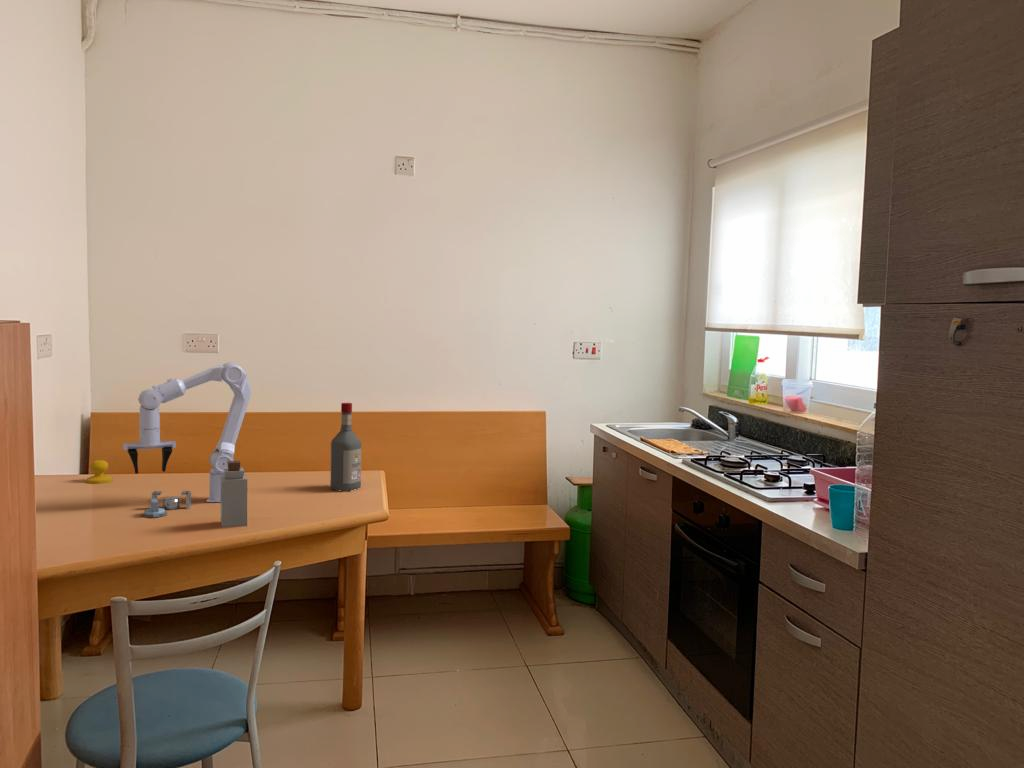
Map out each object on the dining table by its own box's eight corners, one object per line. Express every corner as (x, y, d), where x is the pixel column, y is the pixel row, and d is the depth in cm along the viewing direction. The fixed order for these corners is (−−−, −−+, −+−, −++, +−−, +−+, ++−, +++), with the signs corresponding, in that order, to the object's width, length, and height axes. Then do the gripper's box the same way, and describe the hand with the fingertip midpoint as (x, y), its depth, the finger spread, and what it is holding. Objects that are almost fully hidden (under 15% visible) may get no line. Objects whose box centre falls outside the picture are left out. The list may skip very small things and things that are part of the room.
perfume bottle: (220, 521, 228) (220, 460, 227) (245, 519, 231) (245, 459, 229) (221, 527, 222) (221, 464, 220) (247, 525, 225) (247, 463, 223)
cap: (166, 515, 231) (166, 502, 231) (145, 517, 229) (145, 504, 228) (162, 509, 238) (162, 496, 238) (142, 511, 235) (142, 498, 235)
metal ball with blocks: (191, 505, 245) (191, 489, 245) (188, 509, 240) (188, 493, 240) (154, 506, 243) (154, 490, 243) (150, 510, 238) (150, 494, 238)
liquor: (364, 487, 278) (365, 403, 275) (347, 492, 269) (348, 405, 267) (343, 484, 282) (344, 401, 279) (326, 489, 274) (327, 403, 271)
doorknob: (117, 480, 277) (96, 484, 270) (102, 478, 280) (81, 481, 273) (117, 459, 276) (96, 463, 269) (101, 457, 280) (81, 460, 273)
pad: (170, 511, 238) (170, 510, 238) (164, 517, 231) (164, 516, 231) (145, 511, 236) (145, 510, 236) (138, 517, 229) (138, 516, 229)
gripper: (173, 425, 249) (173, 467, 251) (122, 427, 242) (122, 471, 243) (176, 428, 243) (176, 472, 245) (124, 431, 236) (125, 475, 237)
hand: (150, 472), depth 243 cm, fingers open, 7 cm apart
